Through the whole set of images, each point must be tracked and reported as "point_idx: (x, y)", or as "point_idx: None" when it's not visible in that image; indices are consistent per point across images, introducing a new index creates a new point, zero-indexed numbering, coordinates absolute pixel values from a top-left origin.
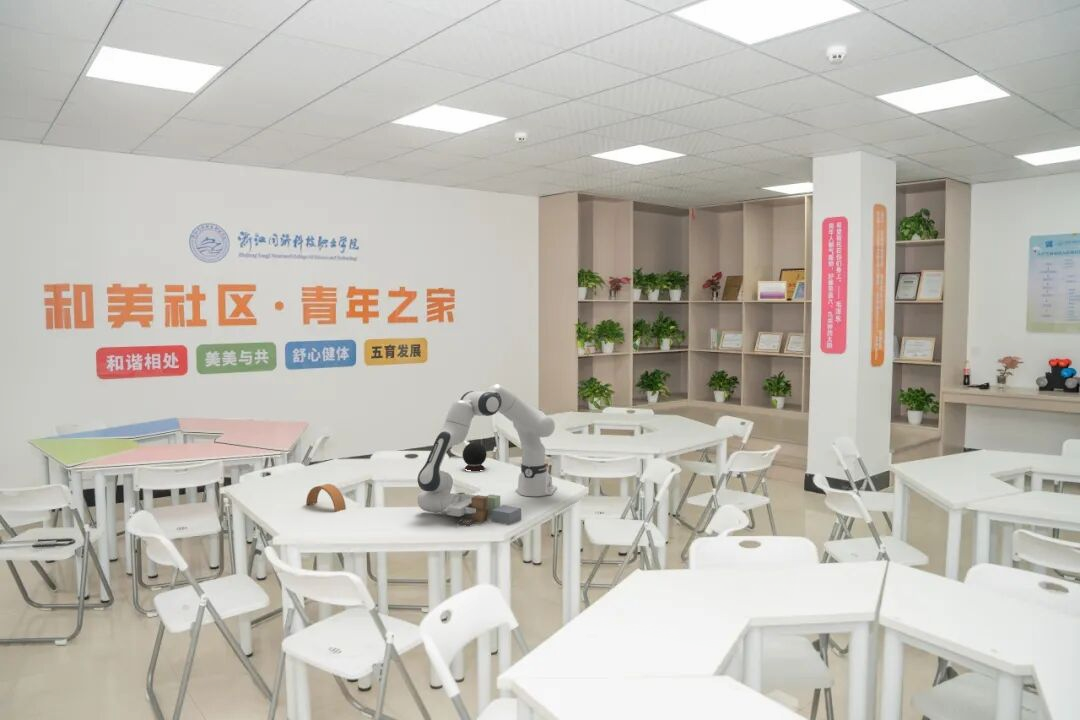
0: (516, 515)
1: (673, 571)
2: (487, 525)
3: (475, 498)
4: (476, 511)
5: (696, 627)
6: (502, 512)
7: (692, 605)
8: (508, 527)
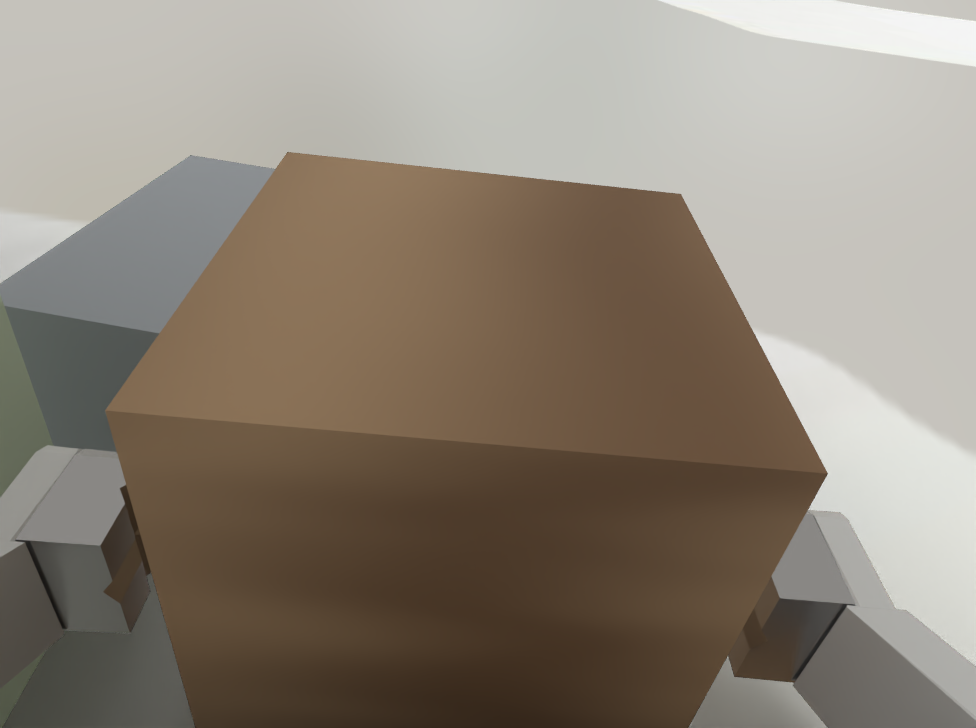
0: None
1: (708, 15)
2: None
3: (750, 330)
4: None
5: (961, 28)
6: None
7: (873, 21)
8: None
